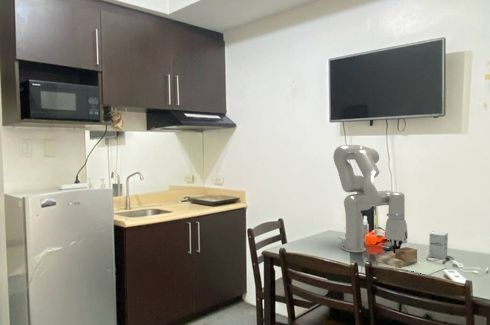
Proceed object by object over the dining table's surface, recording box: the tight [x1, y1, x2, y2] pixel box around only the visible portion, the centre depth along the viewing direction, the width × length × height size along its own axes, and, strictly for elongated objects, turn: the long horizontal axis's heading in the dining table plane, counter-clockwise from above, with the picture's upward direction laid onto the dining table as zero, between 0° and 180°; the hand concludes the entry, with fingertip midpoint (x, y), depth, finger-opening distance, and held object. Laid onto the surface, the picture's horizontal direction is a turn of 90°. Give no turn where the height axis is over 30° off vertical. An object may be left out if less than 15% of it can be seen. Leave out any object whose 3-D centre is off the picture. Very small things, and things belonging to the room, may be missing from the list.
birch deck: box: [375, 250, 418, 269], centre depth 194 cm, size 14×14×3 cm
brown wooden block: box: [395, 246, 418, 261], centre depth 190 cm, size 6×9×4 cm, turn 124°
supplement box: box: [428, 231, 449, 260], centre depth 203 cm, size 7×7×13 cm
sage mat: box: [399, 261, 447, 276], centre depth 183 cm, size 13×18×1 cm
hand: (396, 253), depth 194 cm, fingers closed
